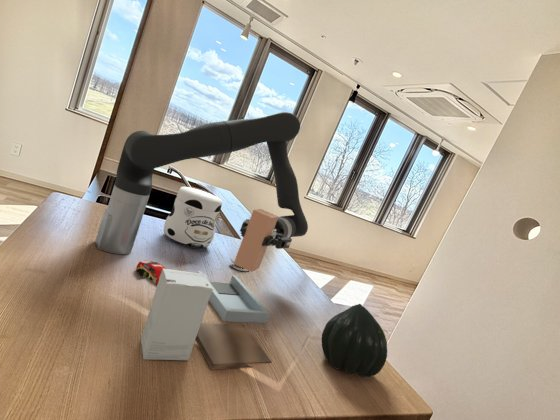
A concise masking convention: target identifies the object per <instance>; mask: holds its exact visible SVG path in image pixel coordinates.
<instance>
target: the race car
mask: <svg viewBox="0 0 560 420" xmlns="http://www.w3.org/2000/svg"><path fill="white" fill-rule="evenodd" d="M163 268H164V269H167V267H165V266H164V265H163V264H162V263H160V262H157V261H153V260H140V261H139V262H138V264H137V265H136V268H135V270H136V273H137V275H139V276H140V277H142V278H143V280H144V279H147V278H148V279H149V280H150V281H152V283H154V284H155V285H156V286H157V285H158V282H159V278H160V275H161V272H162V269H163Z"/></svg>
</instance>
